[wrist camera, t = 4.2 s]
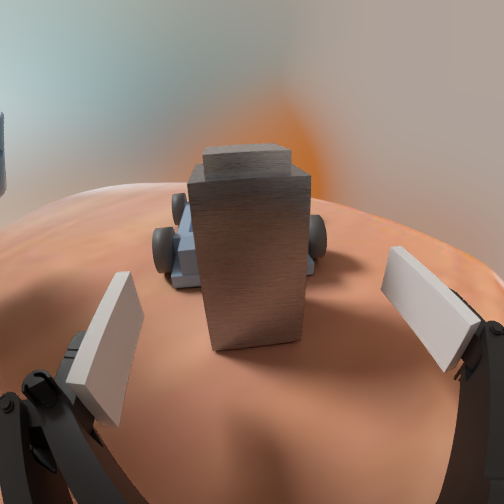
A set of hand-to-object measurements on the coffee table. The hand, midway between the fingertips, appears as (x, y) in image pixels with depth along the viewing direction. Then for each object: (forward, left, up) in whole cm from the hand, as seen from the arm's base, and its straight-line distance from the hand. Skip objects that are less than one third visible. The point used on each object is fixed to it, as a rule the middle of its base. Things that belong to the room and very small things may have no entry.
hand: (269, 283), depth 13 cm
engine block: (0, +5, -6) cm, 8 cm away
